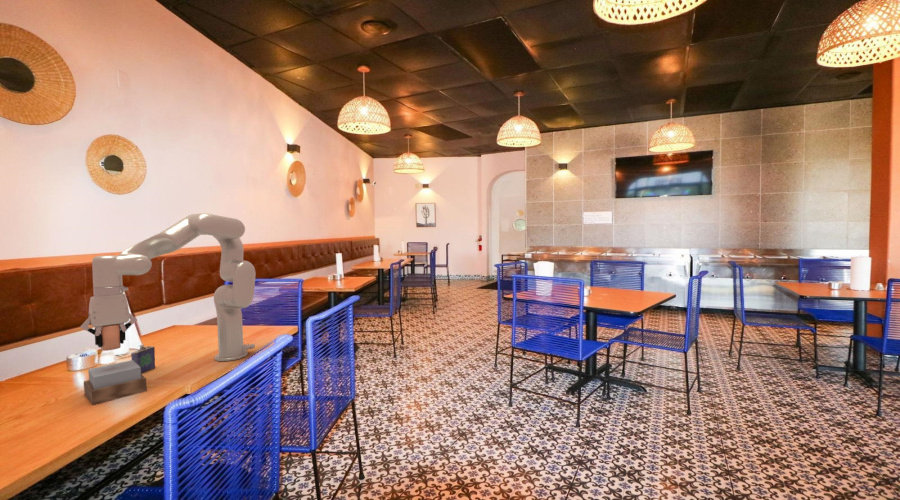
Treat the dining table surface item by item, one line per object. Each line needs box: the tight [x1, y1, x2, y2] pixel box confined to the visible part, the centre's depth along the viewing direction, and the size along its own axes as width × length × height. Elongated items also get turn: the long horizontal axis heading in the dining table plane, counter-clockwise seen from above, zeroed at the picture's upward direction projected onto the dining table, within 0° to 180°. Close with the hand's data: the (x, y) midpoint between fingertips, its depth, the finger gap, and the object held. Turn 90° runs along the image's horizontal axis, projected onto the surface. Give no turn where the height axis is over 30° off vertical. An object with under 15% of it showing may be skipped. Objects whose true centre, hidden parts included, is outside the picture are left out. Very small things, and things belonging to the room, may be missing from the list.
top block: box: [88, 359, 142, 389], centre depth 135 cm, size 12×12×4 cm
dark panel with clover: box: [130, 344, 156, 375], centre depth 155 cm, size 9×3×11 cm, turn 172°
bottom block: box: [83, 374, 148, 406], centre depth 135 cm, size 14×14×5 cm
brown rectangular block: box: [100, 324, 122, 352], centre depth 134 cm, size 5×5×8 cm
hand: (110, 344), depth 134 cm, fingers closed on brown rectangular block, 5 cm apart
